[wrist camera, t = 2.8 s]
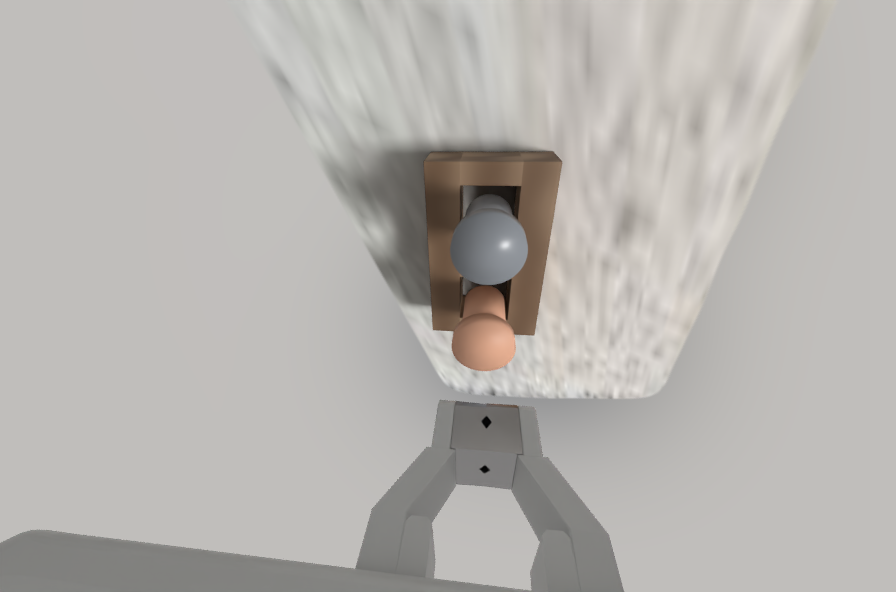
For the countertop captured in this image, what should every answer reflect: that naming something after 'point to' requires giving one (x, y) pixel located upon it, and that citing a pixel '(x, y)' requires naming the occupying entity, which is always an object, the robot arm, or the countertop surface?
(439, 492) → the robot arm
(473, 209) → the grey plug
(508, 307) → the wooden frame holder
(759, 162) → the countertop surface
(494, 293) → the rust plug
